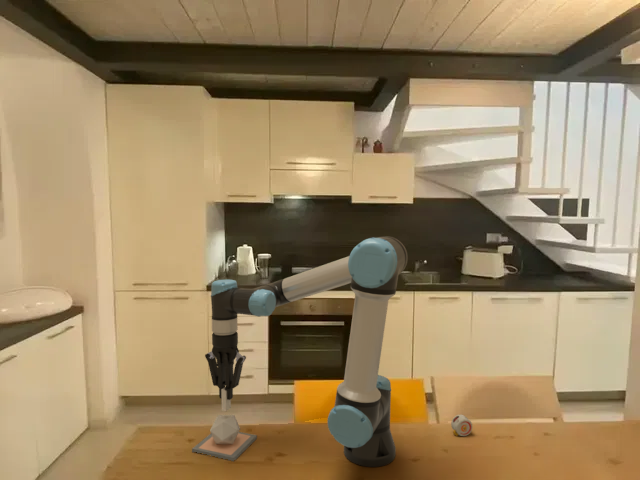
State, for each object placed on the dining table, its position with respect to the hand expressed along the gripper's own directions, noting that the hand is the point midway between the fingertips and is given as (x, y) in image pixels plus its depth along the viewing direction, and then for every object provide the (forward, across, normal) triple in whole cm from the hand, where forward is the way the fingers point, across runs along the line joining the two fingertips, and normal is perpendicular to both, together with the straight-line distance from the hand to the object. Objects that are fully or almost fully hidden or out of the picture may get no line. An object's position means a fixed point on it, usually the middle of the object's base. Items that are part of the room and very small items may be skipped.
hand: (226, 409), depth 139 cm
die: (+10, 0, 0) cm, 10 cm away
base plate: (+11, +1, 0) cm, 11 cm away
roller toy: (+13, -66, -33) cm, 75 cm away
